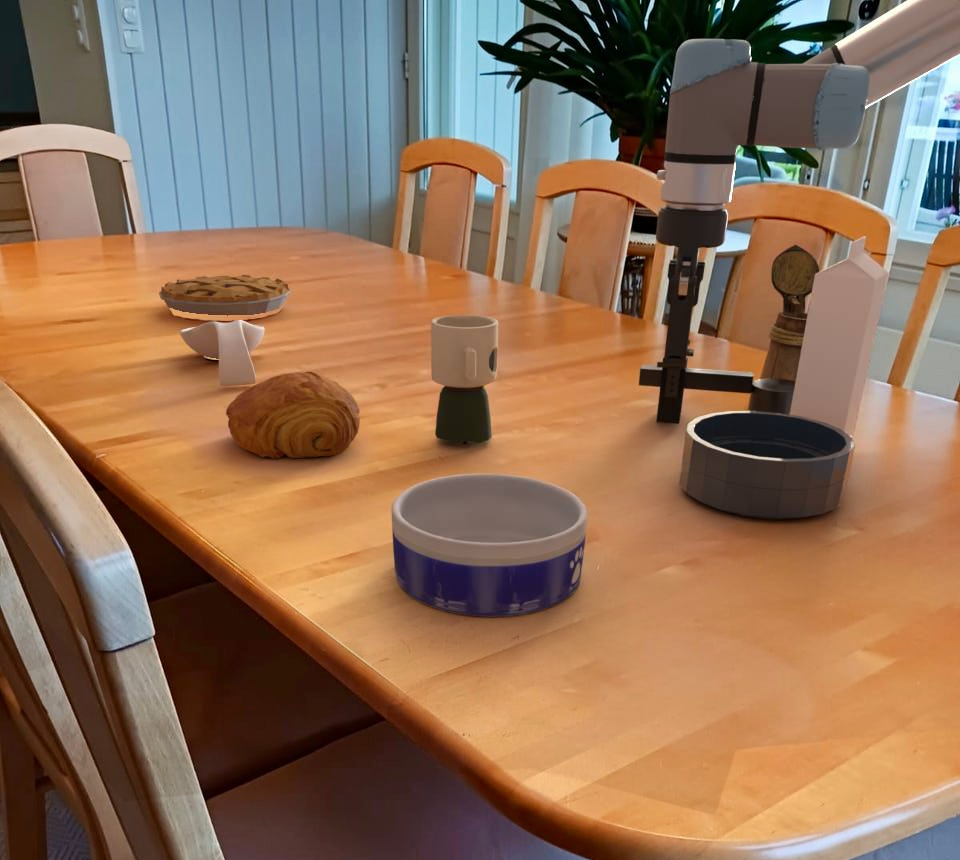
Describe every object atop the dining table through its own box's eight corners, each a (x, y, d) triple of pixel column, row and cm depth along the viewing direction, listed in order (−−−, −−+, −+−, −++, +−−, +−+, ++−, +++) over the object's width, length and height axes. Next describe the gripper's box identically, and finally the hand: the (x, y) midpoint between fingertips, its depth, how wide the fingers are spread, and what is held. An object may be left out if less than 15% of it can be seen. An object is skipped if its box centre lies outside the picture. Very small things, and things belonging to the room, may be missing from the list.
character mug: (503, 455, 104) (507, 331, 98) (437, 457, 103) (437, 332, 97) (486, 425, 114) (489, 310, 107) (426, 426, 113) (425, 310, 106)
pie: (310, 303, 175) (308, 273, 173) (259, 327, 157) (256, 295, 154) (199, 295, 179) (196, 267, 177) (137, 319, 161) (132, 287, 158)
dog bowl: (441, 525, 87) (441, 461, 84) (605, 555, 82) (611, 488, 79) (359, 595, 75) (355, 523, 72) (546, 636, 70) (550, 560, 67)
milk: (850, 451, 108) (898, 238, 97) (836, 466, 103) (885, 245, 93) (796, 441, 111) (836, 233, 100) (780, 455, 106) (821, 239, 95)
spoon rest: (180, 349, 143) (173, 298, 140) (260, 344, 147) (256, 295, 143) (194, 391, 124) (187, 333, 120) (286, 385, 127) (282, 328, 124)
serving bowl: (833, 474, 101) (845, 417, 98) (849, 531, 88) (863, 468, 85) (682, 460, 104) (689, 405, 101) (675, 514, 91) (683, 452, 88)
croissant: (353, 435, 116) (351, 366, 113) (367, 460, 102) (365, 381, 99) (229, 438, 113) (224, 367, 110) (226, 463, 99) (219, 383, 96)
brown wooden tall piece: (805, 387, 131) (831, 245, 122) (834, 417, 119) (865, 261, 110) (738, 386, 131) (760, 243, 122) (761, 415, 119) (786, 259, 110)
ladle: (796, 421, 117) (805, 371, 114) (799, 436, 112) (808, 384, 109) (638, 409, 121) (642, 360, 118) (633, 423, 116) (638, 372, 113)
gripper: (663, 197, 114) (643, 395, 125) (654, 212, 99) (631, 435, 111) (729, 199, 112) (702, 400, 124) (729, 215, 98) (698, 440, 109)
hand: (668, 416), depth 117 cm, fingers open, 4 cm apart
